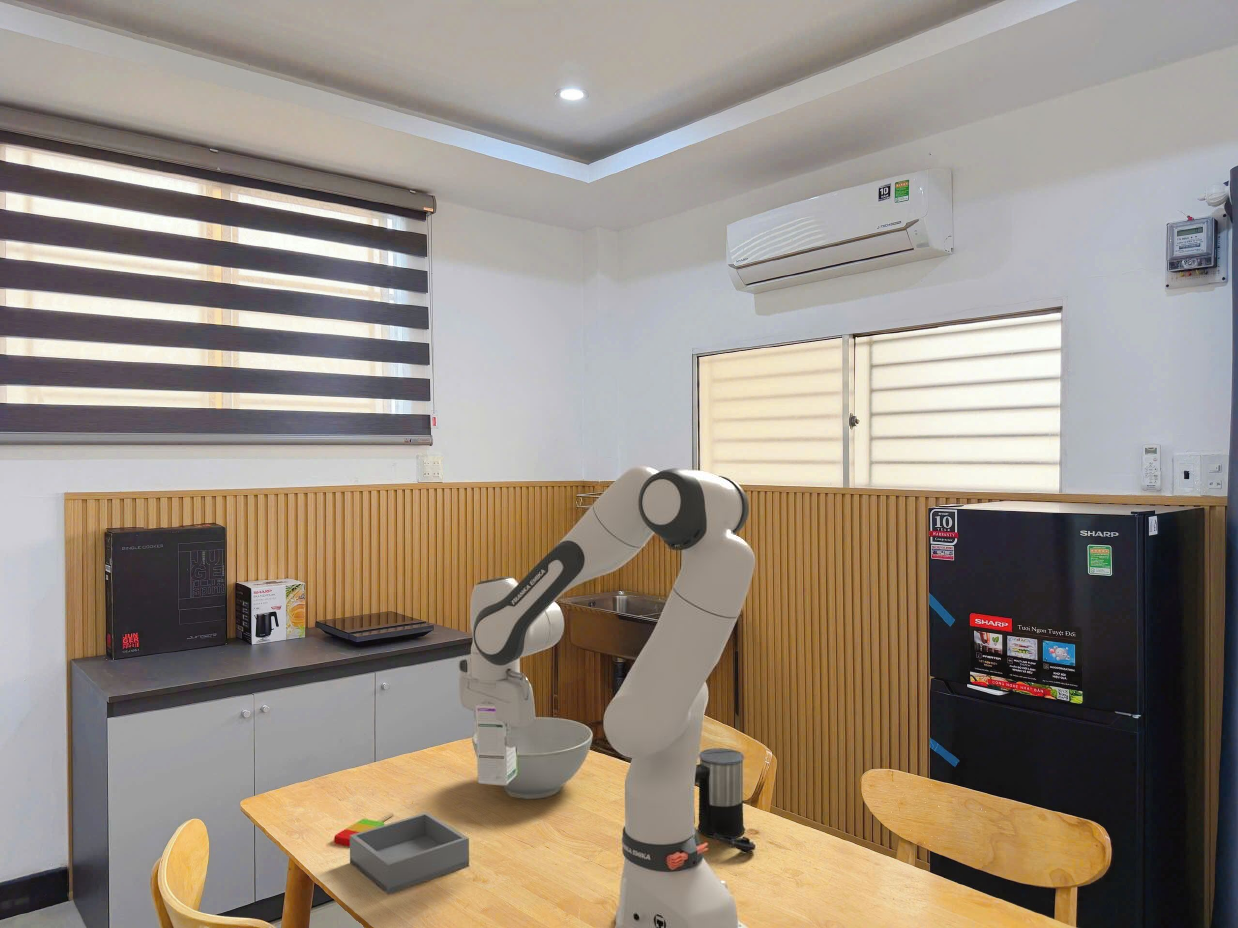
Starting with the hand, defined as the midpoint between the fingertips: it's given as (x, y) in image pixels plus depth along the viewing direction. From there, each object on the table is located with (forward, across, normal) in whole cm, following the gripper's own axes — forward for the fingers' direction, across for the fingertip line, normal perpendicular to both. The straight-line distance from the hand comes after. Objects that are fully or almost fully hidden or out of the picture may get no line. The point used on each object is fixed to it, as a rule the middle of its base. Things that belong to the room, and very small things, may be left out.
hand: (497, 740), depth 157 cm
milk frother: (+23, -22, -38) cm, 49 cm away
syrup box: (+7, 0, 0) cm, 7 cm away
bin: (+22, +10, +13) cm, 27 cm away
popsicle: (+22, +29, +12) cm, 38 cm away
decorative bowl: (+22, +25, -25) cm, 41 cm away
